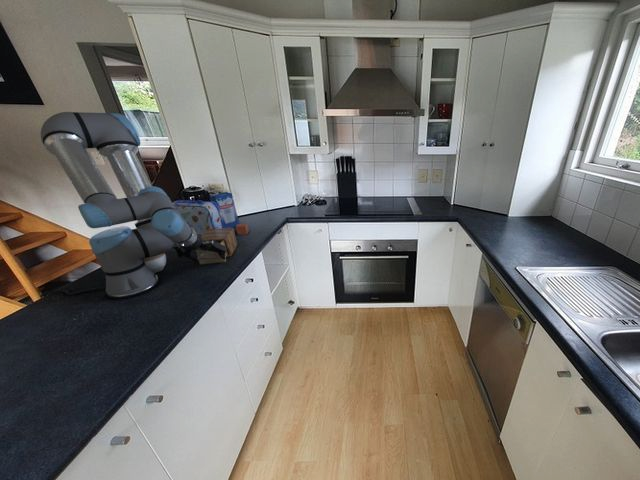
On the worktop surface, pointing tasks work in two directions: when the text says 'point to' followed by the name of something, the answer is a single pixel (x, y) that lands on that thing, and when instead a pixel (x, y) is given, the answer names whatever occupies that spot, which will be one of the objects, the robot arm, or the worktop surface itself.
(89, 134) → the robot arm
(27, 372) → the worktop surface
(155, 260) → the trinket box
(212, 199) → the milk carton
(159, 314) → the worktop surface
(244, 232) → the block
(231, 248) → the cabinet
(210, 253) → the drawer
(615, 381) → the worktop surface
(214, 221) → the lunch box
